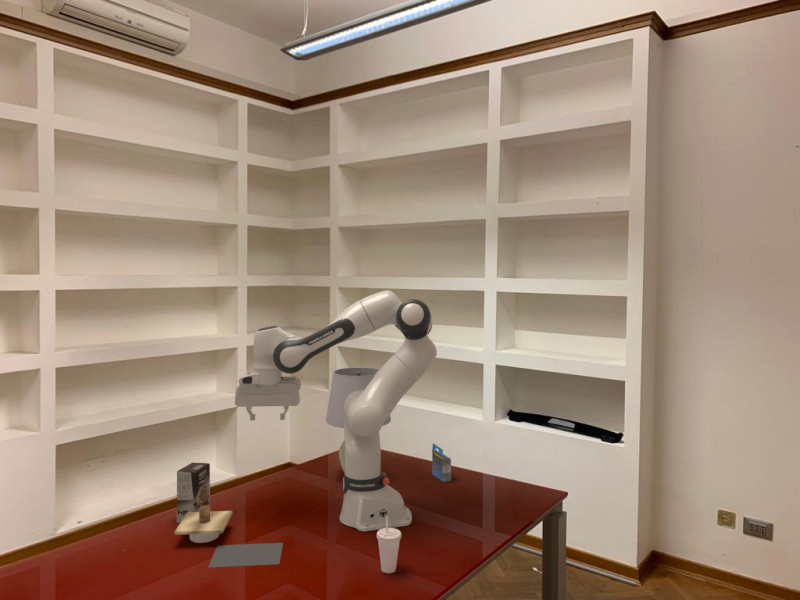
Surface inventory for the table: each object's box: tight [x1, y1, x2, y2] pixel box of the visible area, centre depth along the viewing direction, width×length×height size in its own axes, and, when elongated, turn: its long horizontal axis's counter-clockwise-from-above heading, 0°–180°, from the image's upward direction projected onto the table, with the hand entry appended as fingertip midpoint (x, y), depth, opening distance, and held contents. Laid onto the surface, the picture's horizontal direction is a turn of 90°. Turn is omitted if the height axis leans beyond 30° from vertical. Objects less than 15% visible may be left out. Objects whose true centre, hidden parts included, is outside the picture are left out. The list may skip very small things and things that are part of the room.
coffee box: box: [176, 462, 211, 524], centre depth 180 cm, size 9×6×16 cm
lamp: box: [325, 366, 392, 474], centre depth 215 cm, size 24×24×40 cm
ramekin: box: [188, 533, 220, 544], centre depth 167 cm, size 9×9×4 cm
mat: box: [208, 542, 284, 568], centre depth 157 cm, size 18×12×1 cm, turn 96°
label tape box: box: [431, 442, 452, 483], centre depth 217 cm, size 9×4×12 cm, turn 23°
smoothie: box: [376, 516, 402, 574], centre depth 150 cm, size 6×6×14 cm
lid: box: [174, 505, 233, 536], centre depth 167 cm, size 13×13×5 cm
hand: (267, 419), depth 187 cm, fingers open, 8 cm apart
